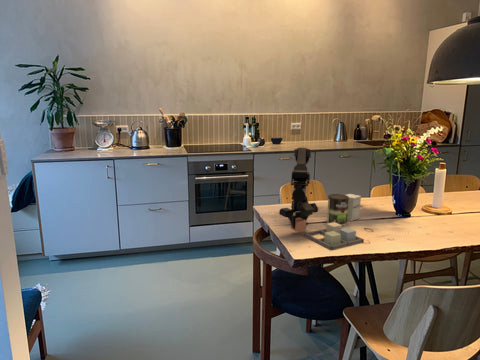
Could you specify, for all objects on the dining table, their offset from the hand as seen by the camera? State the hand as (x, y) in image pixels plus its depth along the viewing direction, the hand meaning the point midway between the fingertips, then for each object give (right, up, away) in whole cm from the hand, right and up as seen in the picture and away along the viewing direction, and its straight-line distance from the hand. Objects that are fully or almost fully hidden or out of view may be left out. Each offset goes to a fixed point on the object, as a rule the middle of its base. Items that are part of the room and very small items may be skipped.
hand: (298, 227), depth 183 cm
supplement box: (+31, +2, +24) cm, 40 cm away
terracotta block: (0, -1, 0) cm, 1 cm away
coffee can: (+23, 0, +17) cm, 29 cm away
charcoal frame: (+15, -5, -6) cm, 17 cm away
